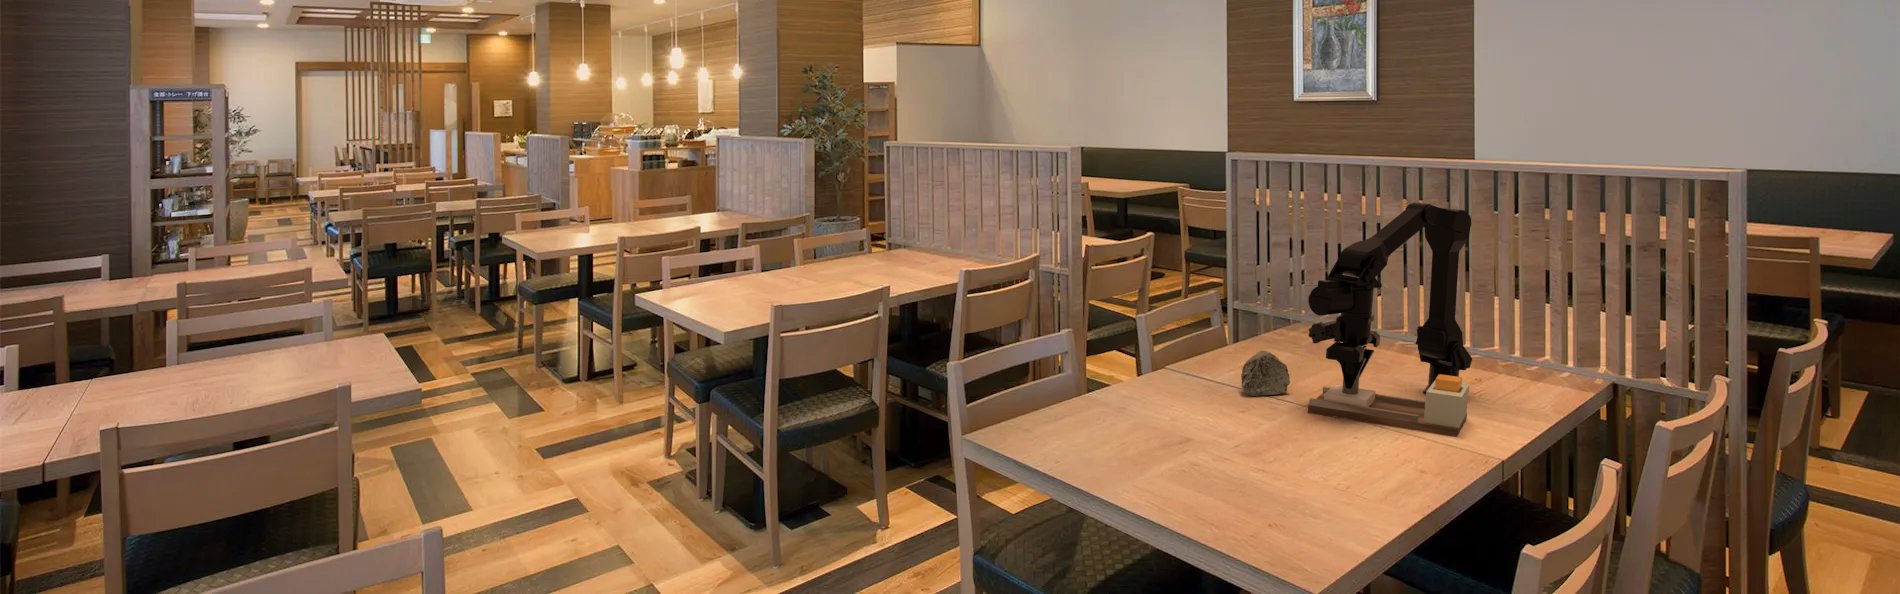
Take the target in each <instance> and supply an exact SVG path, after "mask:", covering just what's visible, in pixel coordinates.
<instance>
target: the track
mask: <svg viewBox="0 0 1900 594" xmlns="http://www.w3.org/2000/svg"><path fill="white" fill-rule="evenodd" d="M1332 387H1333V386H1325V385H1324V386H1323V387H1322V392H1321V393H1320V395H1318V396H1317V397H1316V398H1313V397H1310V398H1309V399H1308V400H1309V401H1308V405H1307V406H1308V407H1307V409H1308V410H1307V413H1308V414H1315V415H1321V416H1327V417H1333V418H1340V419H1344V420H1351V421H1356V422H1363V423H1370V424H1375V425H1382V426H1388V427H1394V428H1399V429H1400V428H1401V429H1406V430H1412V431H1418V432H1424V433H1430V434H1436V435H1442V436H1449V437H1453V438H1458V436H1459V435H1460V433H1461V431H1462V429H1463V428H1464V426H1465V425H1466V422H1467V419H1468V413H1467V414H1466V416H1465V418H1464V420H1463V421H1462V423H1461V425H1460V427H1459V428H1456V427H1450V426H1443V425H1437V424H1431V423H1425V422H1424V412H1425V400H1421V399H1420V400H1419V399H1412V398H1406V397H1400V396H1393V395H1387V394H1386V395H1385V394H1379V393H1375V401H1374V402H1373V403H1372V404H1371V405H1370V406H1369V407H1364V406H1358V405H1352V404H1345V403H1339V402H1332V401H1326V400H1324V394H1325V393H1326V392H1327V391H1328V390H1329V389H1330V388H1332Z"/></svg>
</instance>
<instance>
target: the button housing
mask: <svg viewBox="0 0 1900 594" xmlns="http://www.w3.org/2000/svg"><path fill="white" fill-rule="evenodd" d="M1435 381H1436V380H1435ZM1435 381H1434V382H1433V384H1432V385H1431V386H1430V388H1429V389H1428V390H1427V392H1426V394H1425V400H1424V401H1425V412H1424V422H1425V423H1431V424H1437V425H1443V426H1450V427H1456V428H1459V427H1460V425H1461V423H1462V421H1463V420H1464V418H1465V416H1466V414H1467V415H1468V402H1469V393H1470V384H1468V383H1462V386H1461V392H1460V393H1457V392H1450V391H1443V390H1436V389H1435Z"/></svg>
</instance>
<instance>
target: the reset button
mask: <svg viewBox="0 0 1900 594" xmlns="http://www.w3.org/2000/svg"><path fill="white" fill-rule="evenodd" d="M1462 384H1463V377H1462V376H1459V377H1456V376H1449V375H1441V374H1439V375H1438V376H1437V378H1436V381H1435V389H1436V390H1443V391H1450V392H1457V393H1460V392H1461V386H1462Z"/></svg>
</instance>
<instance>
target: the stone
mask: <svg viewBox="0 0 1900 594" xmlns="http://www.w3.org/2000/svg"><path fill="white" fill-rule="evenodd" d="M1240 376H1241V385H1240V386H1241V388H1242V389H1243V391H1244V393H1245V394H1247V395H1248V396H1251V397H1257V396H1269V395H1280V394H1282V393H1286V392H1287V391H1288V386H1289V385H1290V382H1291V380H1290V373H1289V369H1288V367H1287V365H1286V364H1285V363H1284V362H1282V361H1281V359H1279V357H1277V356H1276V355H1275V354H1272V353H1271V352H1269V351H1267V350H1259V351H1258V352H1257V351H1256V353H1255V354H1253V355H1252V356H1251V357H1250V358H1248V359H1247V360H1246V362H1245V363H1244V365H1243V367H1242V371H1241V375H1240Z"/></svg>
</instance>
